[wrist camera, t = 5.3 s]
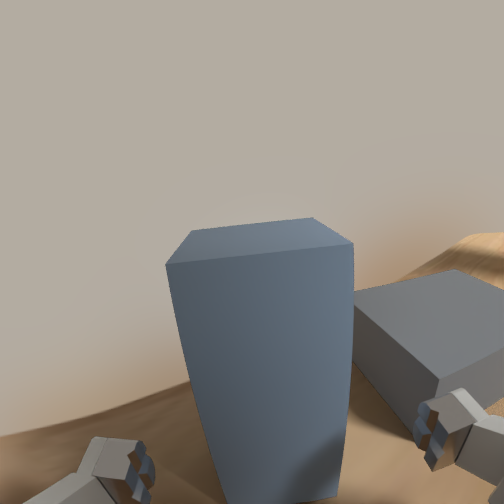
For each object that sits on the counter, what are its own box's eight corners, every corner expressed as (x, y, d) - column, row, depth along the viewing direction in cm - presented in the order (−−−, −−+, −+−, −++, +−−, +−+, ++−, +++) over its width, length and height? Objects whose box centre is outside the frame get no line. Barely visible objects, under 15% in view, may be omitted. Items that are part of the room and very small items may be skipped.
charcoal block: (449, 318, 26) (454, 268, 25) (536, 375, 15) (555, 314, 14) (340, 349, 25) (341, 293, 24) (418, 447, 13) (439, 379, 12)
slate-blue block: (317, 429, 16) (312, 217, 13) (336, 496, 11) (353, 243, 8) (230, 440, 16) (191, 230, 13) (229, 509, 11) (165, 264, 8)
